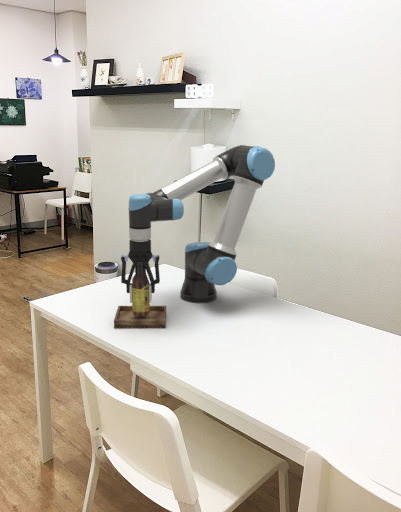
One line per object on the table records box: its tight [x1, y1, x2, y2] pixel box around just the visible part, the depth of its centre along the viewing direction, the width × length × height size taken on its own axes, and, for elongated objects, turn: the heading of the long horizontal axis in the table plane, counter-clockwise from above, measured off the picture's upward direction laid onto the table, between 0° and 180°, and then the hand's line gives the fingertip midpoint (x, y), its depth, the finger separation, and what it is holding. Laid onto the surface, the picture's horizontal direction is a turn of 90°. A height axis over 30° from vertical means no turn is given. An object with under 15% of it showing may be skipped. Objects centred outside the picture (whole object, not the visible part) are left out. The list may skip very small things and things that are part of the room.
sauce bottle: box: [131, 263, 151, 317], centre depth 175 cm, size 6×6×20 cm
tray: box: [113, 305, 167, 329], centre depth 178 cm, size 18×14×3 cm
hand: (140, 301), depth 177 cm, fingers closed on sauce bottle, 6 cm apart
